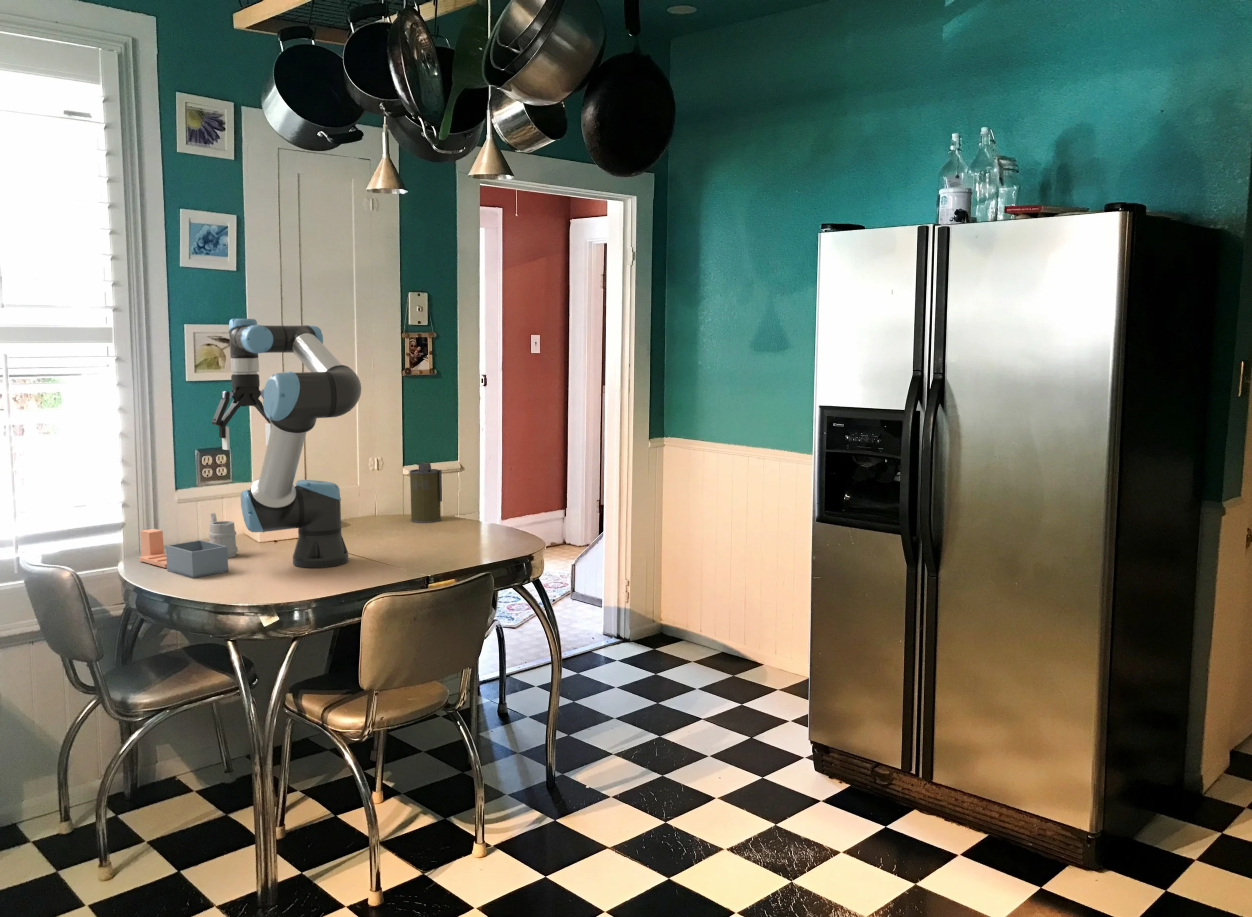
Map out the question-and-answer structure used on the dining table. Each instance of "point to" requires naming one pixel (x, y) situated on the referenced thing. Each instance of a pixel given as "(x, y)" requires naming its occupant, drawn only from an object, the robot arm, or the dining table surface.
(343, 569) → the dining table surface
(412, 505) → the canister
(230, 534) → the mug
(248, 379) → the robot arm
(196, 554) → the tub
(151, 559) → the lid
